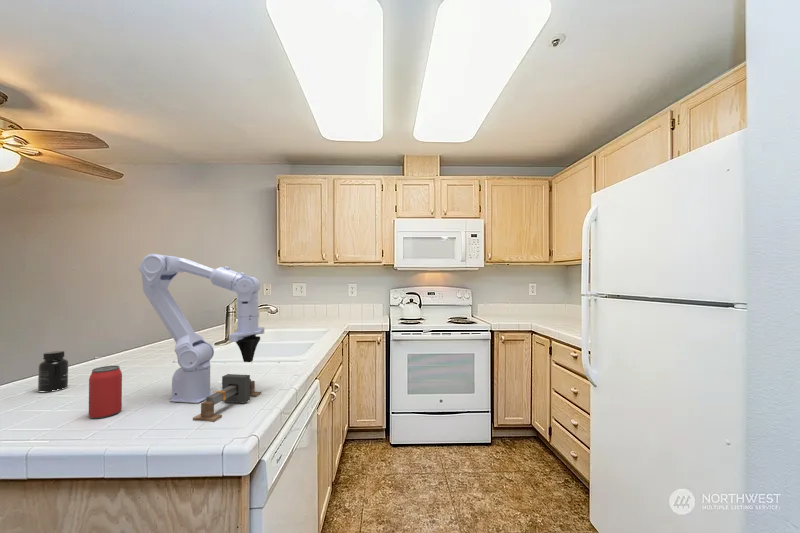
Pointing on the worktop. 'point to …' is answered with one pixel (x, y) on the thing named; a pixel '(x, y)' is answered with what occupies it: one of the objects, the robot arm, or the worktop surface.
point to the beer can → (105, 391)
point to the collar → (243, 387)
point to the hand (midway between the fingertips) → (248, 361)
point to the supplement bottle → (53, 372)
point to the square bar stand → (217, 397)
